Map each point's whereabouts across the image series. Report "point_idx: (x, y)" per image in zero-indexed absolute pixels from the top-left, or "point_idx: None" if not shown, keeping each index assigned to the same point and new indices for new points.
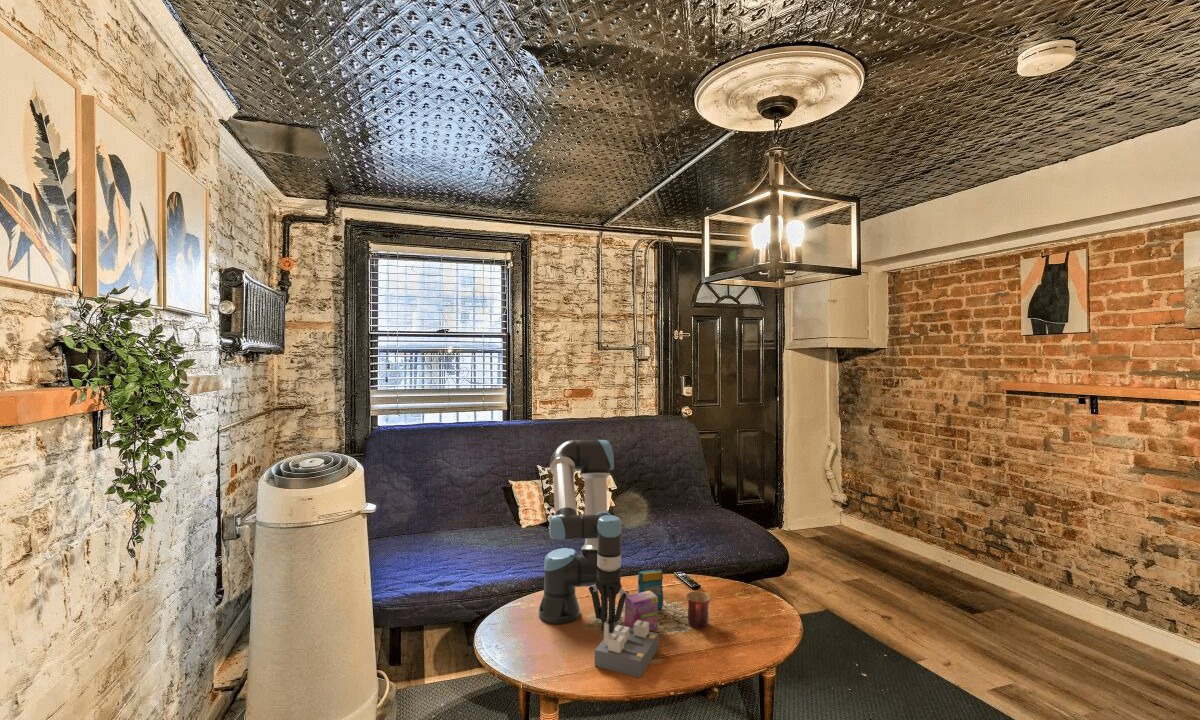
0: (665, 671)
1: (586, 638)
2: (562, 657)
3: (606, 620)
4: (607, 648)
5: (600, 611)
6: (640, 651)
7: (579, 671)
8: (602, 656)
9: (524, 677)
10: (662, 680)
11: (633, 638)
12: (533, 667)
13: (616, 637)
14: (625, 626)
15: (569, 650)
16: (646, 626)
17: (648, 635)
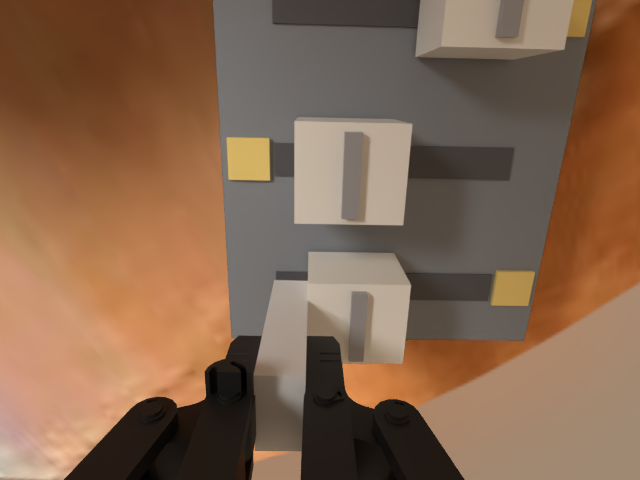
0: (602, 196)
1: (53, 43)
2: (62, 290)
3: (257, 405)
4: None
5: (146, 454)
6: (506, 244)
7: (202, 356)
8: None
9: (24, 469)
10: (591, 272)
11: (422, 99)
12: (3, 405)
13: (363, 336)
14: None
15: (51, 218)
16: (567, 13)
17: None
